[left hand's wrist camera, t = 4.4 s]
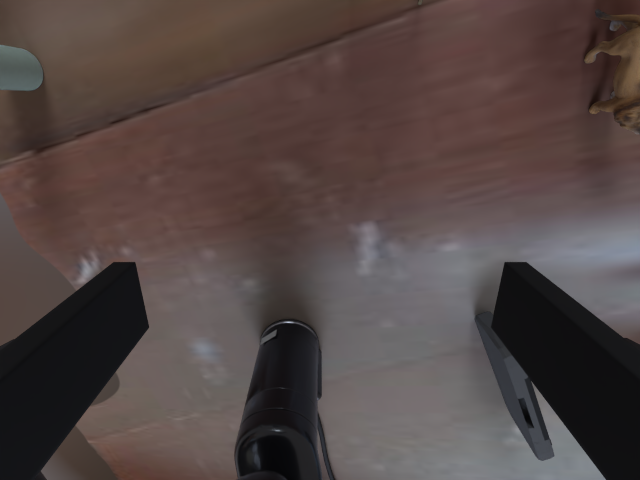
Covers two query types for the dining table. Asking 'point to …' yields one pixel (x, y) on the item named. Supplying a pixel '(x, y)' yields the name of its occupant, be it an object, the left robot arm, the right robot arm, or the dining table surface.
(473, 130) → the dining table surface
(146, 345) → the dining table surface
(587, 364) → the left robot arm
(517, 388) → the handheld gaming console
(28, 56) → the green bottle
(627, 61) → the lion figurine
